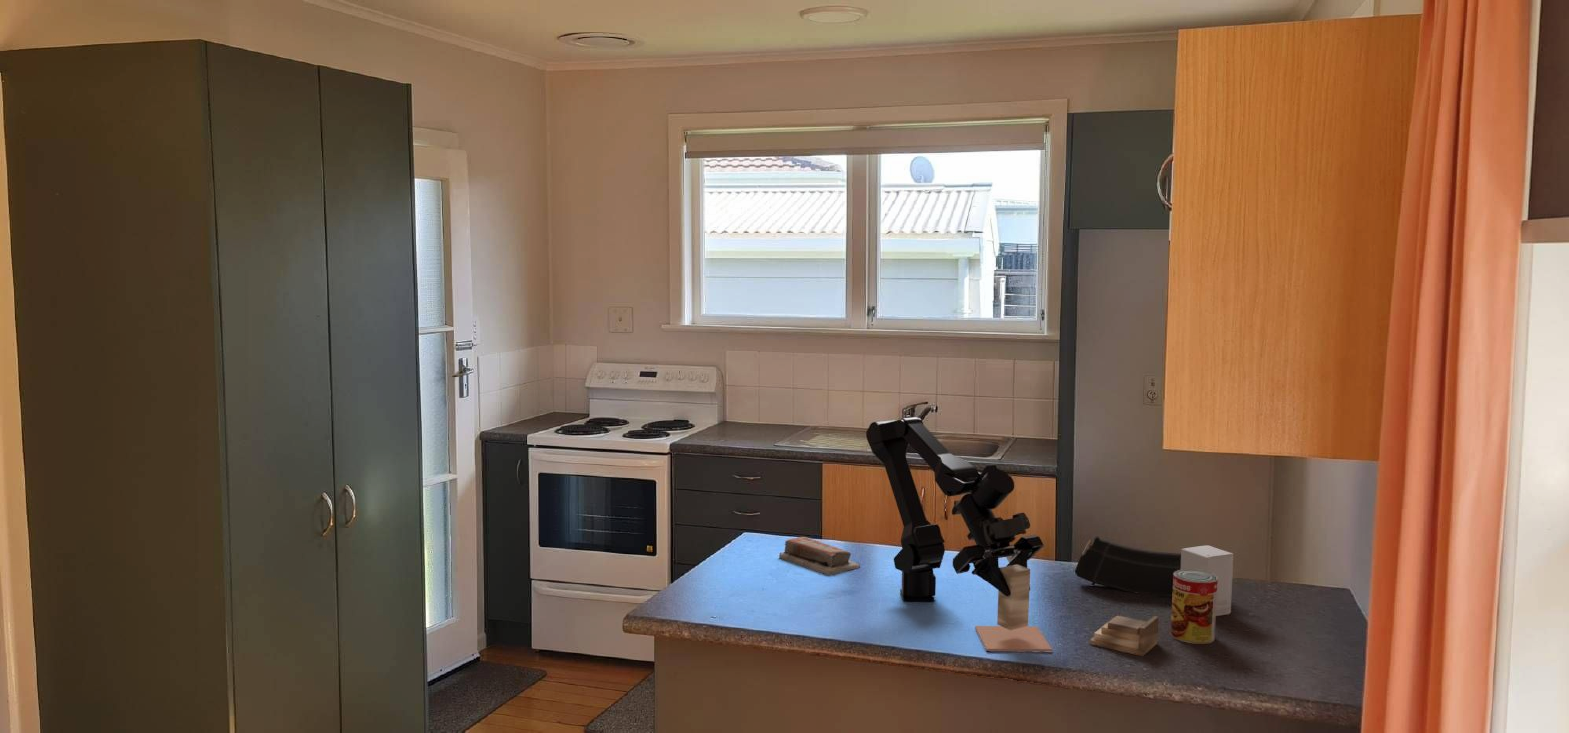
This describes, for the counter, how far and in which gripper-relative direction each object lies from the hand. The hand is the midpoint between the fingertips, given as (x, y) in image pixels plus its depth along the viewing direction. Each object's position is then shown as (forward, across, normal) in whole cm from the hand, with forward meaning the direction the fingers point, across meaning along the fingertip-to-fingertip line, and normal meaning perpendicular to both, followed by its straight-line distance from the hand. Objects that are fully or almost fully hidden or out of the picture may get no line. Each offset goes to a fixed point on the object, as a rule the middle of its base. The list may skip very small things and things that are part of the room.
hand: (1018, 593), depth 205 cm
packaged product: (-36, -4, +51) cm, 63 cm away
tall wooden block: (+4, 0, +6) cm, 7 cm away
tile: (+6, 0, +8) cm, 10 cm away
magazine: (+1, +46, +13) cm, 48 cm away
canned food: (+17, +32, -3) cm, 36 cm away
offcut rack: (+14, +17, -1) cm, 22 cm away
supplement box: (+11, +46, +3) cm, 47 cm away
